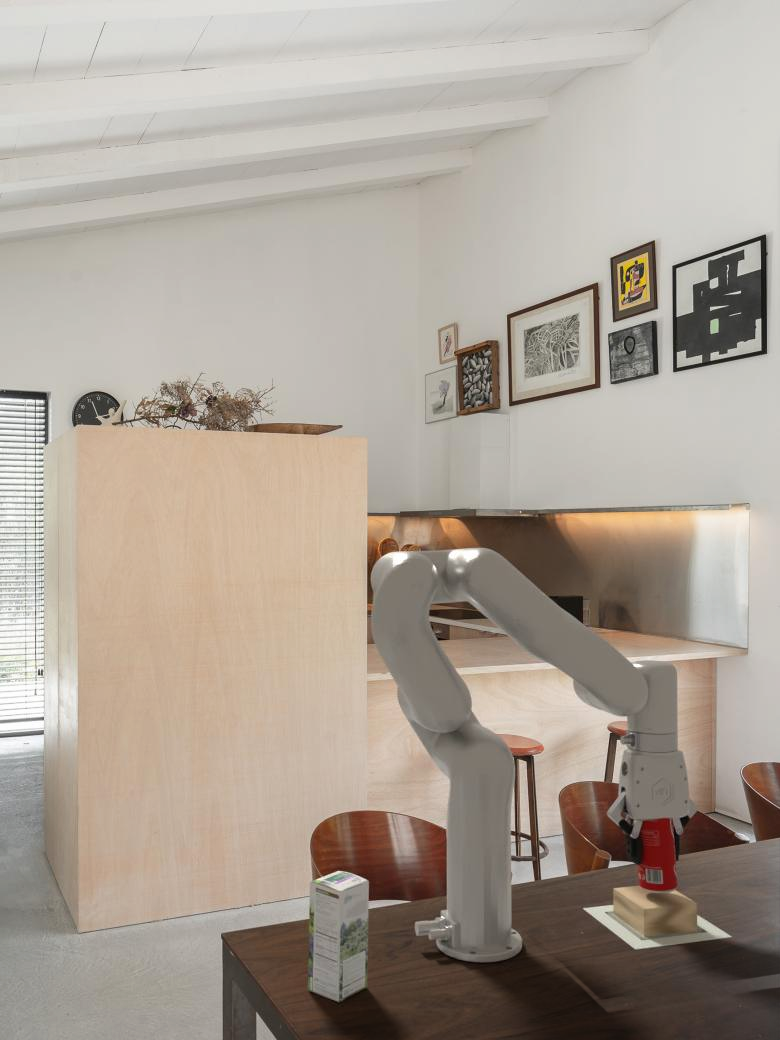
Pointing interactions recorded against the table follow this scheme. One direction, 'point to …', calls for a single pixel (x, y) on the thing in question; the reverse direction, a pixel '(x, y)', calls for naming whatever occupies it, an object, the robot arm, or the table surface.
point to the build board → (640, 942)
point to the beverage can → (657, 856)
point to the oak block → (654, 911)
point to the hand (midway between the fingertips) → (652, 859)
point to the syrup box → (338, 935)
